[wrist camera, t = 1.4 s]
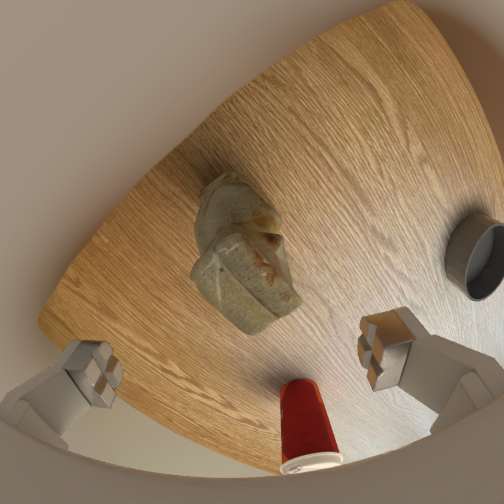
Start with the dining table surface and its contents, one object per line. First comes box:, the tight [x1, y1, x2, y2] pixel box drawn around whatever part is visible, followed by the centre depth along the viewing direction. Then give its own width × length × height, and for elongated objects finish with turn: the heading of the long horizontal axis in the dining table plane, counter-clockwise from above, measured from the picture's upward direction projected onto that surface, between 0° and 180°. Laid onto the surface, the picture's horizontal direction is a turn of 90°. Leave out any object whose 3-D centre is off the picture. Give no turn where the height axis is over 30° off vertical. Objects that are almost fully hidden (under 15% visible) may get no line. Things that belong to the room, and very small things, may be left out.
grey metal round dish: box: [445, 213, 504, 301], centre depth 25 cm, size 11×11×4 cm
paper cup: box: [280, 379, 343, 475], centre depth 29 cm, size 8×8×14 cm
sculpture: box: [190, 171, 302, 336], centre depth 18 cm, size 6×7×15 cm
